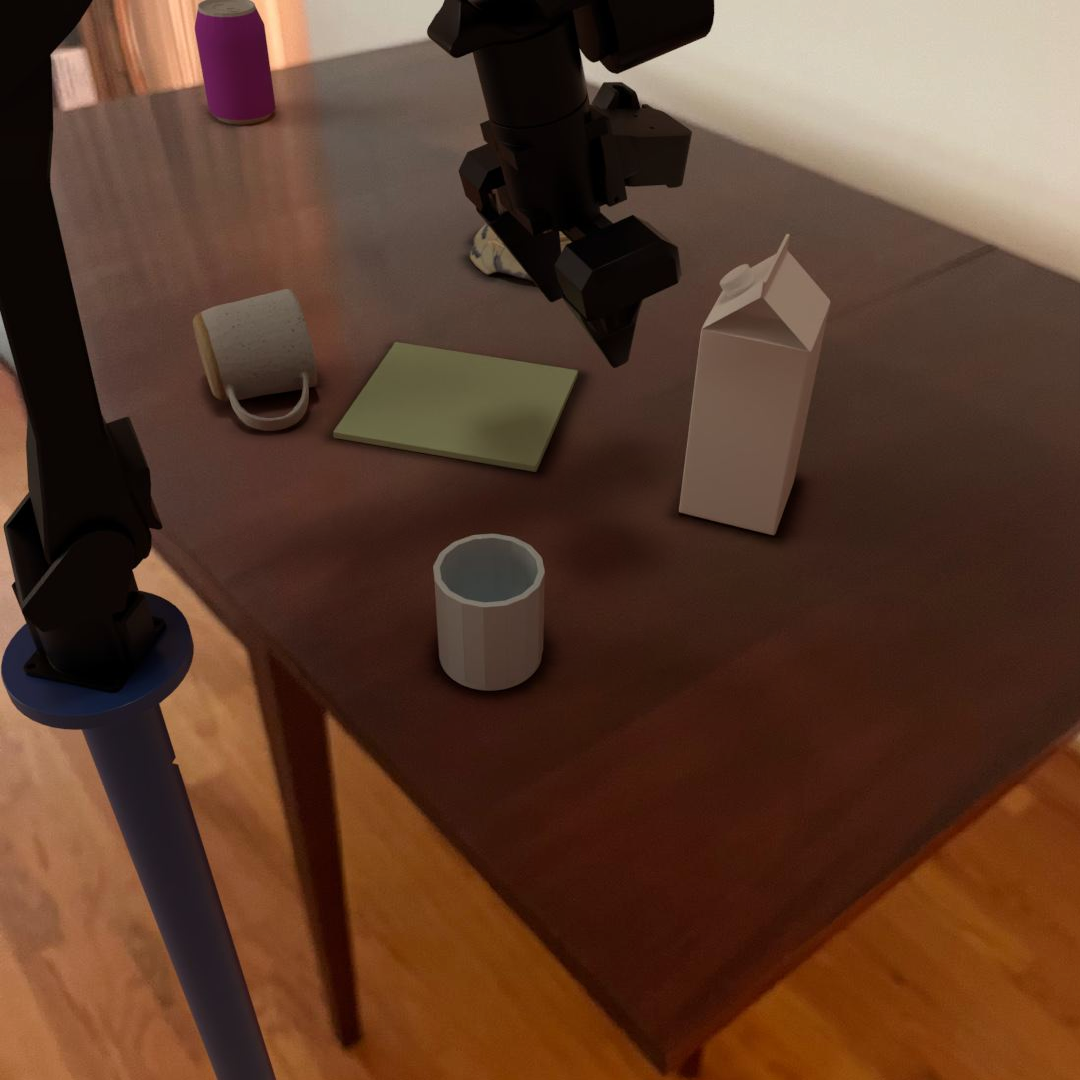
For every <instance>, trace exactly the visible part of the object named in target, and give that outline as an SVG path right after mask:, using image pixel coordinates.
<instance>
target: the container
mask: <svg viewBox="0 0 1080 1080" xmlns="http://www.w3.org/2000/svg"><path fill="white" fill-rule="evenodd" d="M432 570H433V571H432V573H433V585H434V586H433V587H434V589H433V590H434V604H435V619H436V634H437V635H436V636H437V648H438V659H439V663H440V666H441V667H442V670H443V671H444V672H445V673H446V675H447V676H448V677H449V678H450V679H452V681H454V682H456V683H458V684H459V685H461V686H464V687H466V688H469V689H473V690H478V691H484V692H485V691H487V692H492V691H493V692H494V691H502V690H507V689H511V688H513V687H516V686H518V685H520V684H523V683H524V682H525V681H527V680H529V679H530V678H531V677H532V676H533V675H534V674H535V672H536V671H537V670H538V668H539V667H540V664H541V662H542V657H543V651H544V627H545V625H544V624H545V593H546V592H545V588H546V587H545V586H546V570H545V565H544V561H543V557H542V556H541V555H540V554H539V553H538V552H537V550H536V549H535V548H534V547H533V546H532V545H531V544H529V543H527V542H525V541H523V540H521V539H519V538H517V537H514V536H509V535H506V534H505V535H504V534H500V533H482V534H473V535H468V536H466V537H463V538H460V539H457V540H455V541H453V542H452V543H450V544H449V545H448V546H446V547H445V548H444V549H443V550H441V551H440V552H439V554H438V556H437V558H436V560H435V561H434V563H433V567H432Z"/></svg>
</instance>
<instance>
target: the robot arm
mask: <svg viewBox="0 0 1080 1080" xmlns="http://www.w3.org/2000/svg"><path fill="white" fill-rule="evenodd" d="M93 1H94V0H0V317H1V320H2V324H3V328H4V331H5V335H6V339H7V342H8V344H9V350H10V354H11V357H12V361H13V364H14V367H15V371H16V375H17V378H18V382H19V385H20V390H21V393H22V396H23V400H24V404H25V407H26V416H27V417H26V419H27V423H26V437H25V438H26V439H25V454H26V474H27V488H28V492H27V493H26V495H25V496H24V497H23V498H22V499H21V501H20V503H19V504H18V505H17V506H16V508H15V509H14V511H13V512H12V513H11V514H10V516H9V517H8V518H7V519H6V521H5V522H4V523H3V527H2V528H3V532H4V537H5V542H6V545H7V551H8V556H9V561H10V564H11V568H12V573H13V578H14V579H13V580H14V581H13V583H12V584H11V588H12V591H13V593H14V596H15V599H16V600H17V604H18V607H19V609H20V611H21V613H22V616H23V618H24V621H25V624H27V626H28V629H29V631H30V634H31V636H32V639H33V641H34V644H35V646H36V649H37V650H36V651H35V653H34V654H33V655H32V656H31V657H30V659H29V660H28V661H27V662H26V663H25V665H24V666H23V670H24V672H25V674H26V675H27V676H30V677H35V678H40V679H44V680H49V681H54V682H59V683H64V684H69V685H73V686H78V687H83V688H88V689H93V690H98V691H102V692H107V693H117V692H119V691H120V690H121V689H122V688H123V687H124V685H125V684H126V682H127V681H128V680H129V678H130V677H131V676H132V674H133V673H134V671H135V670H136V669H137V667H138V666H140V664H141V663H142V662H143V660H144V659H145V658H146V656H147V655H148V653H149V652H150V651H151V649H152V648H153V646H154V645H155V644H156V642H157V641H158V638H159V637H160V635H161V634H162V633H163V631H164V630H165V628H166V624H165V620H164V619H162V618H158V617H153V616H151V613H150V610H149V607H148V603H147V600H146V597H145V595H144V593H140V592H139V591H140V590H139V586H138V584H137V580H136V577H135V573H134V571H133V570H134V569H136V568H137V567H138V566H139V565H140V564H141V563H142V561H143V560H146V559H147V558H149V556H150V553H151V551H152V548H153V547H152V541H153V539H152V538H153V537H152V536H153V535H152V532H151V529H153V530H157V531H160V530H162V529H163V524H162V521H161V518H160V515H159V512H158V510H157V507H156V505H155V502H154V499H153V497H152V480H151V479H152V478H151V470H150V466H149V465H148V462H147V459H146V456H145V453H144V451H143V448H142V446H141V443H140V441H139V438H138V436H137V433H136V430H135V428H134V425H133V422H132V420H131V417H130V416H124V417H121V418H118V419H115V420H113V421H109V422H107V421H106V419H105V418H104V415H103V414H102V410H101V409H102V408H101V405H100V401H99V396H98V391H97V387H96V383H95V377H94V373H93V369H92V365H91V360H90V357H89V356H90V355H89V352H88V348H87V343H86V339H85V338H86V337H85V334H84V329H83V325H82V321H81V316H80V312H79V307H78V303H77V298H76V294H75V290H74V286H73V281H72V278H71V273H70V268H69V262H68V258H67V255H66V249H65V246H64V245H65V244H64V241H63V236H62V232H61V227H60V224H59V220H58V219H59V218H58V214H57V210H56V206H55V202H54V201H55V200H54V196H53V193H52V186H51V184H52V183H51V171H52V156H53V144H54V143H53V142H54V101H53V100H54V99H53V70H52V69H53V68H52V67H53V66H52V65H53V63H52V54H53V53H54V52H55V51H56V49H57V48H58V47H59V46H60V45H61V44H62V43H63V42H64V41H65V40H66V39H67V38H68V36H69V35H70V34H71V33H72V32H73V31H74V30H75V28H76V27H77V25H79V23H81V20H82V19H83V17H84V15H85V14H86V13H87V11H88V10H89V7H90V6H91V4H92V3H93ZM714 18H715V0H443V2H442V5H441V7H440V9H439V10H438V11H437V12H436V14H435V15H434V17H433V19H432V20H431V22H430V24H429V25H428V27H427V28H426V34H427V37H428V39H430V40H431V41H432V42H434V43H435V44H436V46H438V47H440V48H441V49H442V50H443V51H444V52H446V53H447V54H448V55H449V56H450V57H452V58H454V59H459V58H462V57H464V56H467V55H470V54H472V56H473V61H474V64H475V68H476V72H477V76H478V81H479V84H480V87H481V92H482V95H483V100H484V103H485V108H486V112H487V116H488V120H486V121H482V122H481V123H479V126H480V130H481V134H482V139H483V141H484V142H485V143H486V144H485V143H484V144H483V145H480V146H478V147H476V148H474V149H472V150H469V151H467V152H466V154H465V156H464V158H463V159H462V162H461V164H460V166H459V168H458V174H459V178H460V181H461V185H462V189H463V192H464V195H465V197H466V199H468V200H469V201H470V202H471V203H472V204H473V205H474V207H475V209H476V212H477V213H478V215H479V216H480V217H481V218H482V219H483V221H484V222H485V224H486V223H487V224H488V225H489V227H490V228H491V229H492V230H493V232H494V233H495V234H496V235H497V237H498V238H499V239H500V240H501V242H502V243H503V244H504V245H505V247H506V248H507V249H508V250H509V252H510V253H511V254H512V255H513V257H514V258H515V259H516V260H517V261H518V263H519V264H520V265H521V266H522V268H523V269H524V270H525V272H526V273H527V274H528V275H529V277H530V278H531V279H532V280H533V281H532V280H531V281H532V282H533V283H534V284H535V286H536V287H537V288H538V289H539V291H540V292H541V293H542V294H543V296H544V297H545V299H547V301H548V302H549V303H554V302H557V301H559V300H561V299H562V300H563V302H564V303H565V304H566V306H567V307H568V309H569V310H570V311H571V313H572V314H573V316H574V317H575V318H576V319H577V321H578V322H579V324H580V325H581V327H582V328H583V329H584V330H585V332H586V334H587V335H588V336H589V338H590V339H591V341H592V342H593V343H594V345H595V346H596V347H597V349H598V350H599V352H600V354H602V356H603V357H604V358H605V360H606V361H607V362H608V364H609V365H610V366H611V367H612V368H613V369H617V368H619V367H621V366H624V365H625V364H627V363H628V362H629V359H630V355H631V350H632V346H633V340H634V336H635V331H636V326H637V321H638V317H639V313H640V311H641V307H642V304H643V301H644V300H645V299H648V298H650V297H651V296H654V295H656V294H659V293H660V292H662V291H665V290H666V289H669V288H671V287H673V286H675V285H677V284H679V282H680V280H681V278H682V276H683V273H682V267H681V259H680V252H679V246H677V244H675V243H674V242H672V241H671V239H669V238H668V237H666V235H664V234H663V233H662V232H661V231H659V230H658V228H656V227H654V226H653V225H652V224H651V223H650V222H649V221H646V220H644V219H642V218H640V217H638V216H636V215H634V214H631V215H629V216H627V217H624V218H622V219H620V220H618V221H616V222H612V220H610V219H609V218H608V217H607V216H606V215H604V214H603V213H602V211H601V207H603V206H607V207H608V208H610V207H614V206H615V205H616V206H617V205H618V204H620V203H623V202H625V201H627V200H628V195H627V188H626V187H629V188H634V187H635V188H636V187H652V186H653V187H655V186H665V187H667V188H668V189H673V188H675V189H676V188H679V187H682V186H683V184H684V179H685V173H686V169H687V162H688V157H689V151H690V148H691V147H690V146H691V141H692V136H693V132H692V130H691V129H690V128H688V126H687V127H686V126H685V125H684V124H683V123H681V122H680V121H678V120H677V119H675V118H674V117H672V116H671V115H669V114H668V113H667V112H665V111H663V110H660V109H656V108H653V107H652V106H650V105H649V103H648V104H647V103H642V104H640V100H639V97H638V94H637V93H638V92H636V91H635V90H634V88H633V89H632V87H630V86H628V85H627V84H626V83H624V82H623V81H604V82H602V84H601V85H600V87H599V89H598V91H597V93H596V94H595V97H594V98H593V99H592V102H591V104H590V99H589V98H590V97H589V91H588V86H587V81H586V75H585V71H584V70H585V69H584V66H583V60H582V55H583V56H584V57H585V58H586V59H587V60H588V61H589V62H591V63H593V64H594V63H598V62H600V63H601V64H602V66H603V67H604V68H605V69H606V70H607V71H608V72H610V73H612V74H615V75H619V74H621V73H623V72H626V71H628V70H630V69H633V68H635V67H638V66H640V65H642V64H645V63H647V62H649V61H652V60H654V59H656V58H658V57H662V56H664V55H666V54H668V53H671V52H673V51H675V50H678V49H680V48H682V47H685V46H687V45H689V44H692V43H694V42H697V41H699V40H701V39H704V38H707V36H708V35H709V34H710V32H711V31H712V27H713V25H714V20H715V19H714ZM559 231H561V232H562V233H563V234H564V235H565V236H566V237H567V238H568V239H569V240H570V241H571V243H569V244H567V245H565V247H564V249H563V251H562V252H561V244H560V233H559ZM156 625H158V626H156ZM32 668H33V669H32ZM114 684H116V685H114ZM112 685H114V686H112Z"/></svg>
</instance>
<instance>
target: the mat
mask: <svg viewBox="0 0 1080 1080" xmlns="http://www.w3.org/2000/svg"><path fill="white" fill-rule="evenodd" d="M578 377H579V370H578V369H573V368H566V367H560V366H553V365H547V364H540V363H533V362H527V361H520V360H514V359H508V358H502V357H495V356H489V355H484V354H483V355H482V354H476V353H470V352H463V351H459V350H457V351H456V350H451V349H443V348H438V347H431V346H424V345H420V344H419V345H418V344H412V343H405V342H401V341H395V342H394V343H393V345H392V346H391V347H390V349H389V351H388V352H387V353H386V355H385V356H384V358H383V359H382V361H381V362H380V363H379V365H378V366H377V368H376V369H375V371H374V372H373V374H372V375H371V377H370V378H369V379H368V381H367V382H366V384H365V385H364V386H363V388H362V390H361V391H360V392H359V394H358V395H357V397H356V398H355V399H354V401H353V402H352V404H351V405H350V407H349V408H348V409H347V412H346V413H345V414H344V416H343V417H342V418H341V419H340V421H339V422H338V424H337V426H336V427H335V428H334V430H333V431H332V434H333V438H334V439H338V440H339V439H340V440H343V441H344V440H345V441H349V442H350V441H351V442H355V443H362V444H368V445H375V446H380V447H387V448H392V449H398V450H404V451H409V452H415V453H422V454H427V455H434V456H437V457H439V456H440V457H445V458H451V459H457V460H461V461H469V462H475V463H480V464H484V465H485V464H486V465H492V466H496V467H497V466H498V467H502V468H503V467H504V468H510V469H515V470H522V471H527V472H534V473H536V472H537V471H538V469H539V467H540V464H541V462H542V459H543V457H544V454H545V453H546V451H547V448H548V445H549V443H550V441H551V438H552V436H553V434H554V431H555V429H556V427H557V426H558V423H559V420H560V419H561V416H562V414H563V411H564V409H565V407H566V404H567V401H568V400H569V398H570V395H571V393H572V392H573V391H572V390H573V388H574V386H575V384H576V382H577V379H578Z"/></svg>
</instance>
